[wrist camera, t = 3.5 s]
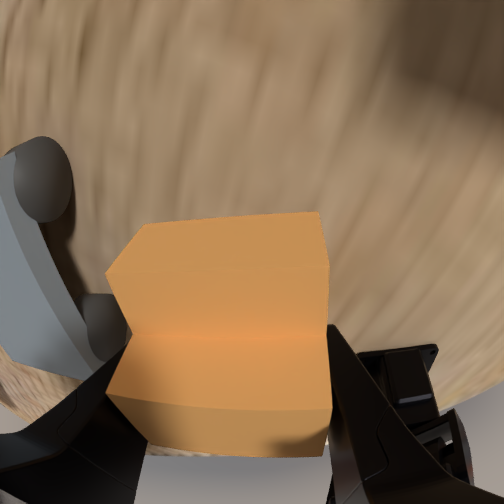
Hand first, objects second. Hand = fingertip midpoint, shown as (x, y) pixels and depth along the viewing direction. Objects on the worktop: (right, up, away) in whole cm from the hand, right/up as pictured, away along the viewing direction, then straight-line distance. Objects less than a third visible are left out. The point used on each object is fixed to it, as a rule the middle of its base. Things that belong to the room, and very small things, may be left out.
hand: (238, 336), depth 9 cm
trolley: (-14, +3, +8) cm, 17 cm away
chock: (0, +1, +1) cm, 1 cm away
